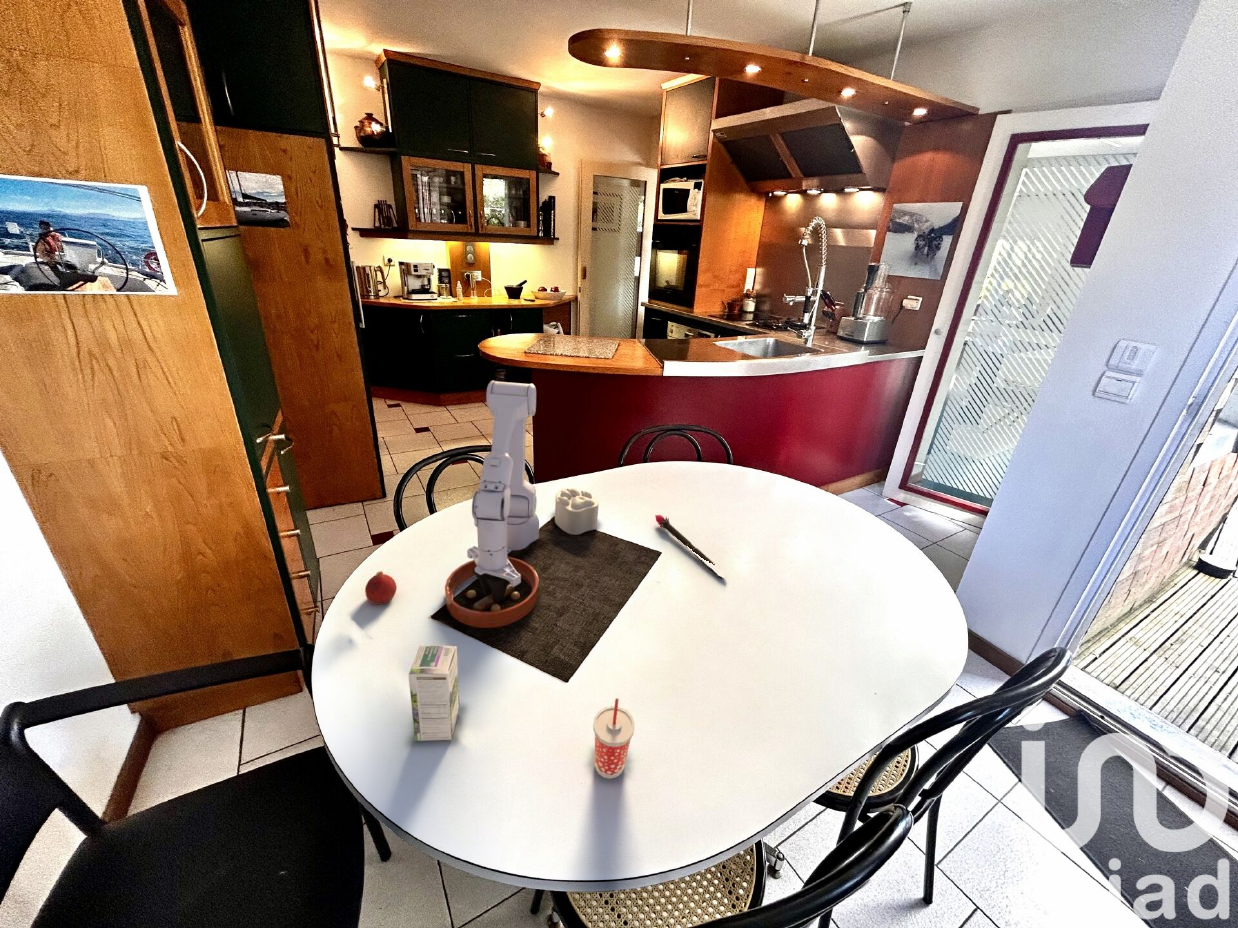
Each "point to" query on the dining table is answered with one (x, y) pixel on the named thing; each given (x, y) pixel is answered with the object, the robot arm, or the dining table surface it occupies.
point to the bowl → (497, 616)
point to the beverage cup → (612, 739)
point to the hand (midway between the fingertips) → (494, 597)
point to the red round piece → (380, 588)
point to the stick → (490, 600)
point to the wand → (680, 536)
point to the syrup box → (434, 692)
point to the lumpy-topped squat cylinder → (576, 511)
